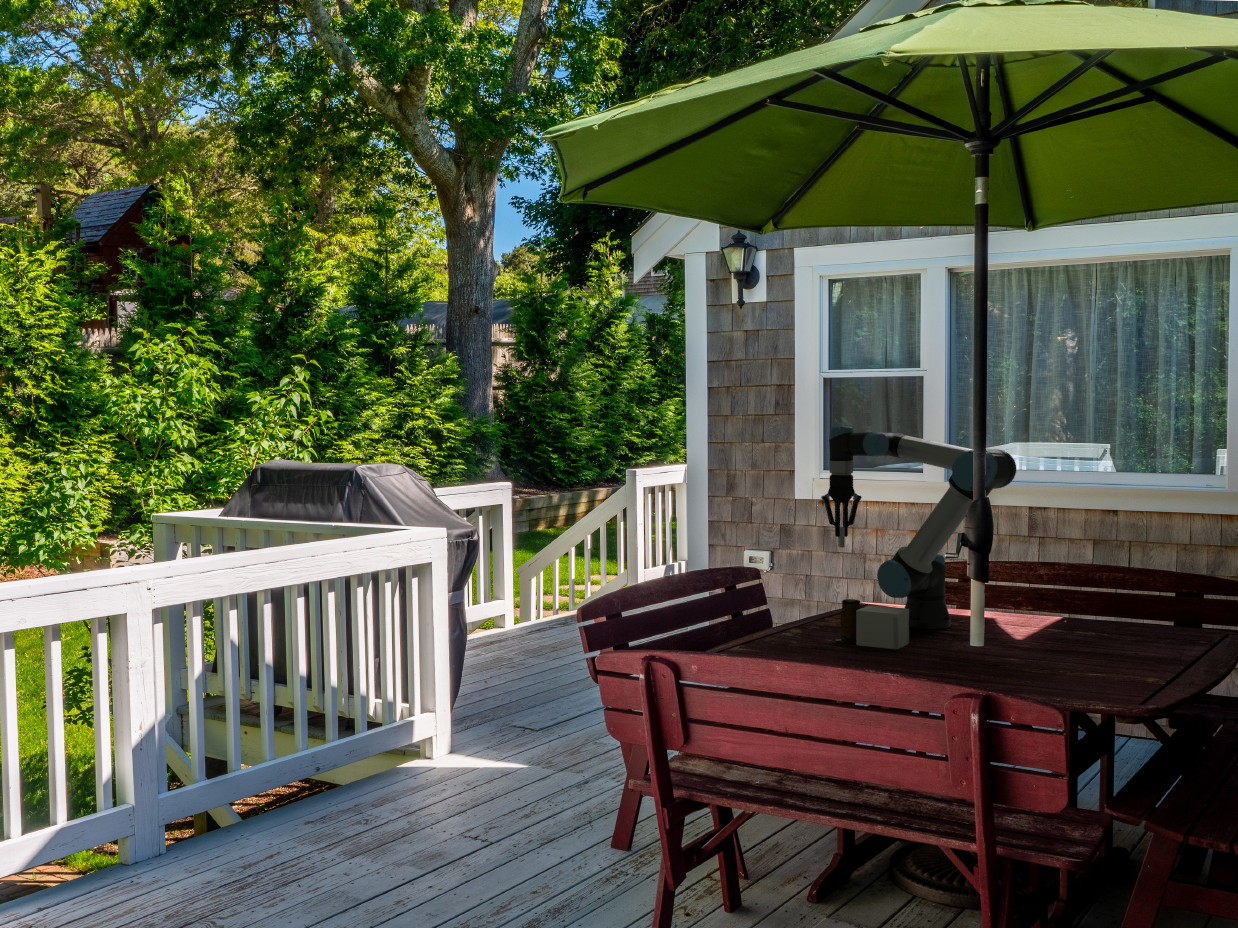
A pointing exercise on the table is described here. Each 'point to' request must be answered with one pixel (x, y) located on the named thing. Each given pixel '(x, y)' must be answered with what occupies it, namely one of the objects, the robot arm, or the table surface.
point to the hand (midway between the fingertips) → (841, 546)
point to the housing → (882, 627)
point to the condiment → (849, 620)
